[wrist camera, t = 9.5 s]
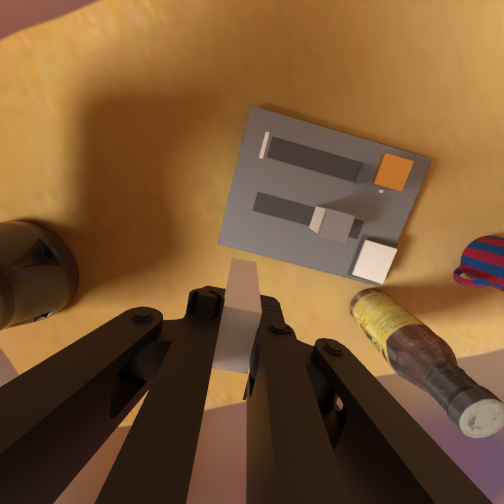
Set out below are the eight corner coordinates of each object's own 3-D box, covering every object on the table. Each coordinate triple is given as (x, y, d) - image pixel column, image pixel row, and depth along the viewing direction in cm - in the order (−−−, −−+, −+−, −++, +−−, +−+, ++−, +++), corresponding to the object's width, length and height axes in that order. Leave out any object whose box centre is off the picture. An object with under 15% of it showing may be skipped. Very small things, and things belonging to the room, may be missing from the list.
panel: (219, 241, 37) (217, 244, 35) (251, 110, 33) (250, 105, 31) (373, 281, 38) (379, 286, 36) (422, 161, 34) (433, 159, 32)
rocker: (351, 271, 36) (352, 274, 35) (363, 238, 35) (366, 240, 33) (379, 280, 35) (382, 284, 34) (393, 247, 34) (397, 249, 33)
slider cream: (307, 228, 34) (318, 236, 28) (315, 205, 33) (328, 208, 28) (330, 234, 34) (345, 243, 29) (338, 211, 34) (355, 216, 28)
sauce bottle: (340, 313, 40) (422, 430, 20) (362, 280, 38) (473, 372, 19) (374, 330, 40) (485, 460, 21) (398, 299, 39) (538, 406, 20)
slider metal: (353, 184, 33) (374, 183, 27) (362, 159, 32) (385, 152, 26) (376, 191, 33) (401, 191, 27) (385, 166, 32) (413, 161, 26)
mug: (505, 274, 38) (559, 292, 31) (438, 287, 38) (476, 307, 32) (507, 231, 36) (563, 241, 30) (436, 245, 37) (476, 257, 30)
